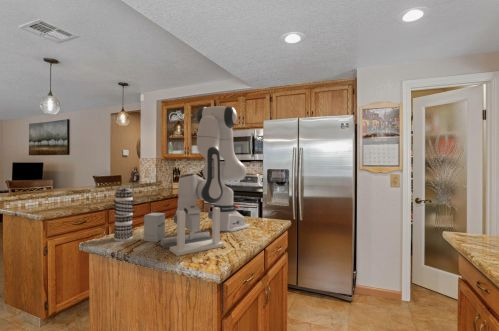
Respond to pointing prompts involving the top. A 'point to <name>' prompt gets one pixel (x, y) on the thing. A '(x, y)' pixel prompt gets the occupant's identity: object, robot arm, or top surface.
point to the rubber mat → (185, 242)
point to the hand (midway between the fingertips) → (186, 236)
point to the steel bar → (174, 239)
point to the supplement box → (154, 227)
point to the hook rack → (200, 245)
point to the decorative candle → (123, 214)
